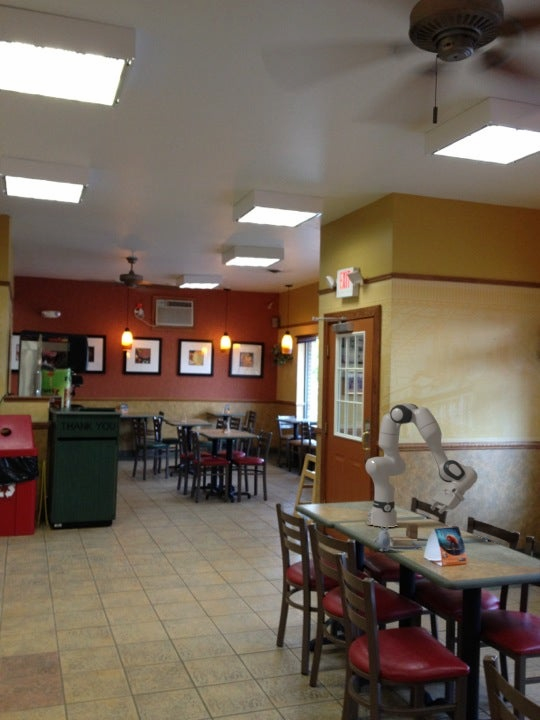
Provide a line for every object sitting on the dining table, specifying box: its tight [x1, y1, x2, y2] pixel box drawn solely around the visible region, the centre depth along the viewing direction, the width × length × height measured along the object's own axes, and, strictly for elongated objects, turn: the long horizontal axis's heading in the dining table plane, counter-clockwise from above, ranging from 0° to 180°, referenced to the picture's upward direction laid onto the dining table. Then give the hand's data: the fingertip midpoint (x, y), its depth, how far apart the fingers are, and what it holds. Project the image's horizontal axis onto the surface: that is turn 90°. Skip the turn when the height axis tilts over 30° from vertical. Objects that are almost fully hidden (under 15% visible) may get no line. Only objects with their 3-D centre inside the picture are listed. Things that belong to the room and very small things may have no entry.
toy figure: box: [373, 526, 394, 552], centre depth 316 cm, size 11×6×12 cm, turn 101°
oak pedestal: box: [389, 534, 414, 546], centre depth 329 cm, size 10×10×3 cm
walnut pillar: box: [405, 522, 419, 540], centre depth 344 cm, size 4×4×8 cm
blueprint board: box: [389, 541, 423, 550], centre depth 330 cm, size 16×16×1 cm
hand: (435, 510), depth 347 cm, fingers open, 8 cm apart
